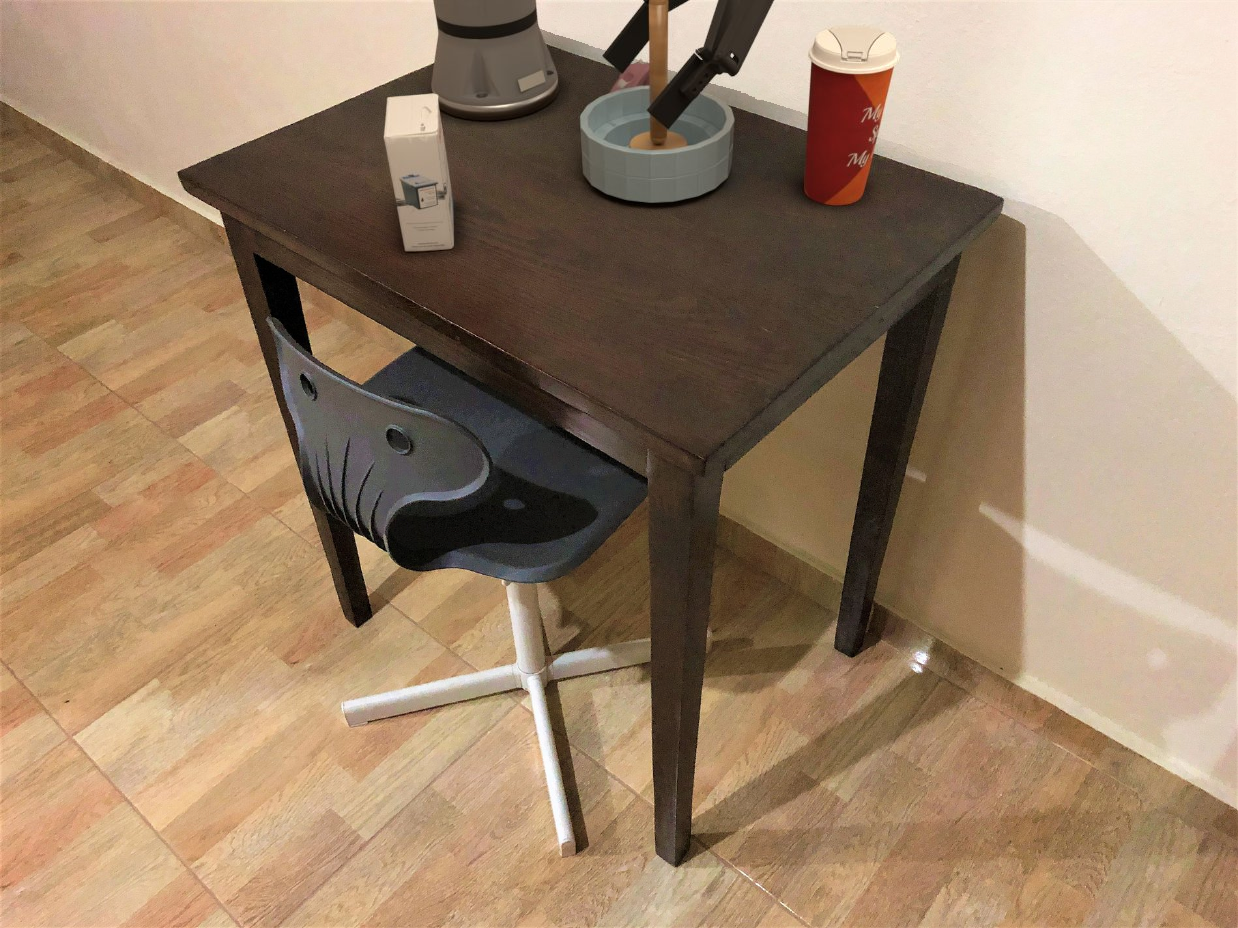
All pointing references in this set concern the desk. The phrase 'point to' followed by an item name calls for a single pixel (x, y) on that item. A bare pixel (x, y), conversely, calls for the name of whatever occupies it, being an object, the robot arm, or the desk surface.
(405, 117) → the ink box
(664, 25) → the wooden paper towel holder
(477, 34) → the robot arm
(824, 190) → the coffee cup
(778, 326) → the desk surface
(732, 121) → the bowl
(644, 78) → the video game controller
